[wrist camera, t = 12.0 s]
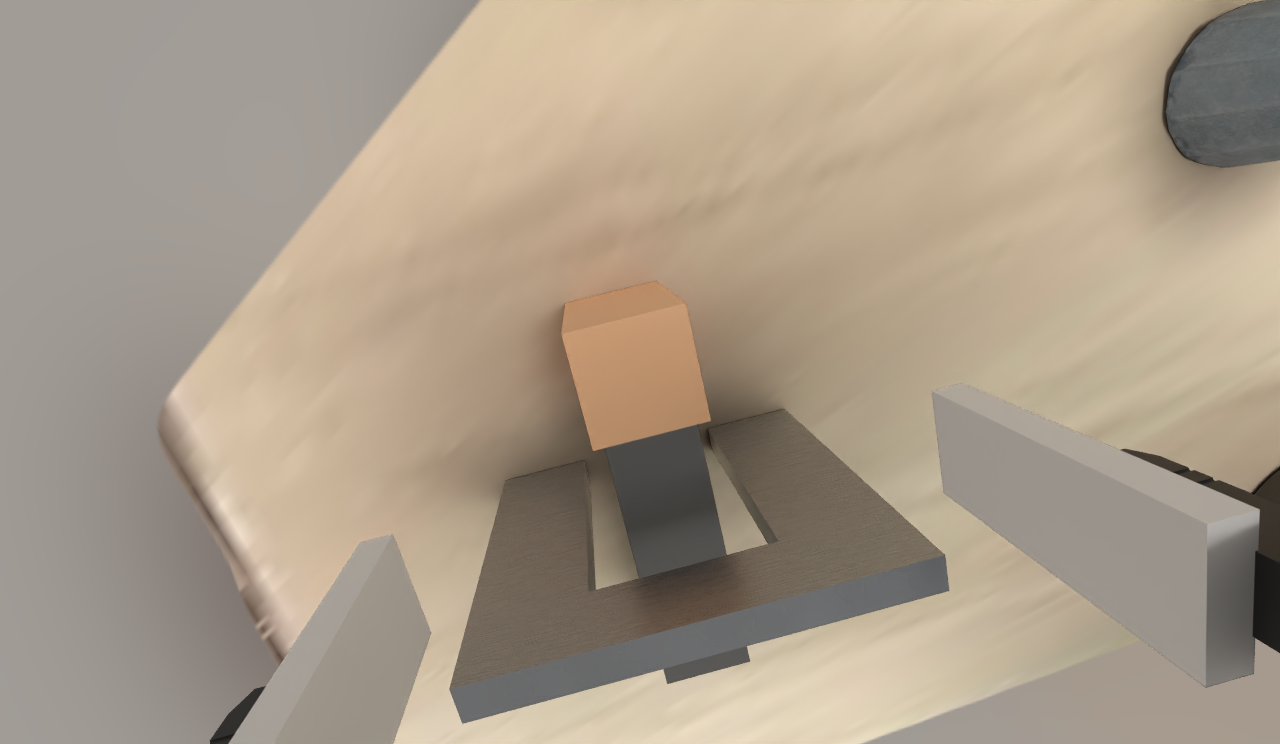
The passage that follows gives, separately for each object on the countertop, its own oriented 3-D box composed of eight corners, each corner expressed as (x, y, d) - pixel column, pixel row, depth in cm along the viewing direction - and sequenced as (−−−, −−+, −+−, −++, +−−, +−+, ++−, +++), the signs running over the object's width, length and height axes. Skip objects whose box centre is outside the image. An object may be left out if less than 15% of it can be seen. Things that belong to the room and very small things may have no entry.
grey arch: (788, 430, 39) (949, 590, 22) (512, 501, 38) (462, 723, 22) (784, 408, 39) (945, 555, 22) (505, 480, 38) (449, 689, 21)
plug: (720, 565, 41) (764, 672, 31) (640, 587, 41) (660, 701, 31) (656, 280, 36) (686, 303, 26) (565, 303, 36) (561, 334, 26)
